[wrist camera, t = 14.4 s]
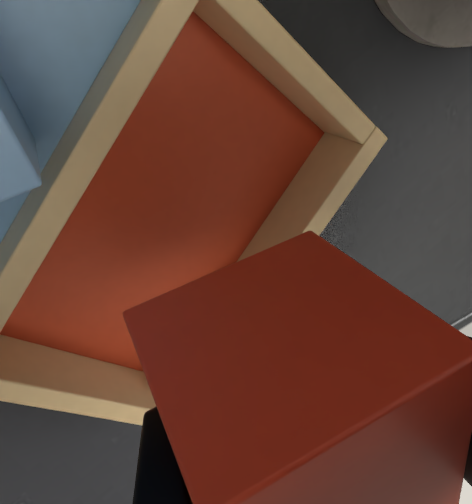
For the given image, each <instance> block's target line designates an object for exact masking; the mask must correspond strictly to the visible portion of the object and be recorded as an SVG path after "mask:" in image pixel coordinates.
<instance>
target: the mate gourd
mask: <svg viewBox="0 0 472 504" xmlns="http://www.w3.org/2000/svg"><path fill="white" fill-rule="evenodd" d="M375 2H376V4H377V5H378V7H379V9H380V11H381V12H382V14H383V15H384V16H385V17H386V18H387V19H388V20H389V21H390V22H391V23H392V24H393V25H394V27H395V28H396V29H397V30H398V31H399V32H401V33H403V34H404V35H406V36H408V37H409V38H411V39H413V40H414V41H416V42H418V43H422V44H426V45H430V46H434V47H445V48H452V47H465V46H472V0H375Z"/></svg>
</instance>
